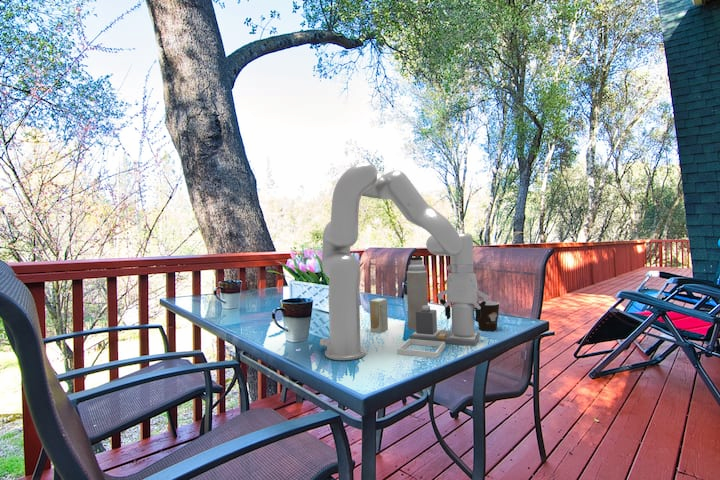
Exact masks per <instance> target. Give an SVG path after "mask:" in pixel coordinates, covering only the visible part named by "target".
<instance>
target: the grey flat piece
mask: <svg viewBox="0 0 720 480" xmlns="http://www.w3.org/2000/svg"><path fill="white" fill-rule="evenodd" d="M480 338H481V332H476V331H475V334H473V335H472V336H471V337H458V336H455V335H454V334H453V333H452V330H449V329H437V331H436V332H435V333H434V334H433V335H430V334H418V333H416V330H414V332H413V333H411V334H410V335H409V339H417V340H429V341H440V342H445V345H446V344H447V345H456V346H457V345H458V346H459V345H460V346H470V347H476V346H477V344H478V342H479V340H480Z"/></svg>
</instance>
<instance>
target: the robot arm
mask: <svg viewBox="0 0 720 480" xmlns="http://www.w3.org/2000/svg"><path fill="white" fill-rule="evenodd" d="M362 197H365V198H371V199H379V200H391V201H392V203H393V204H394V205H395V206H396V208H397V209H398V210H399V211H400V213H401V215H403V217H404V218H405V220H406V221H408V222H410V223H411V224H413V225H416V226H418V227H420V228H421V229H424V230H425V231H426V232H427V233H429V235H430V236H429V237H428V239H427V240H426V243H425V246H426V249H427V250H428V252H429V253H430V254H432V255H435V256H442V257H443V256H446V257H450V265H447V266H446V270H447V271H450V272H449V273H447V279H446V280H447V281H446V290H443V291H441V292H439V293H437V294H436V296H437V298H438V300H439V302H440V303H441V305H442V306H444V315H445V317H446V320H449V319H450V318H452V309H451V306H450V304H453V303H456V302H466V303H467V304H473V305H474V307H475V308H476V309H475V319H476V321H475V322H477V321H479V318H481V308H482V307H483V306H484V305H485V304H486V302H487V301H489V299H490V296H489V295H488V294H485V293H484V292H482V291H480V290H479V289H478V280H477V275H476V273H474V238H473V235H472V234H470V233H459V232H458V231H457V230H456V228H455V227H454V226H453V223H451V222H450V221H449V220H448V219H447V218H446V217H445V215H443V214H441V213H440V212H439V211H438V210H436V209H435V208H434V207H433V206H431V205H430V204H429V203H427V201H426V200H425V198H424V197H423V196H422V195H421V194H420V192H419V190H418V189H417V188H416V187H415V185H414V184H413V183H412V181H411V180H410V179H409V177H408V176H407V175H406V174H405V173H404V172H403V171H401V170H392V171H391V170H390V171H389V172H387V173H385V174H380V173H378V171H377V168H376V166H374V165H373V164H372V163H370V162H365V161H362V162H359V163H357V164H355V165H352V166H350V168H348V169H346V171H344V173H343V174H342V175H341V176H340V178H339V179H338V180H337V182H336V184H335V187H334V190H333V193H332V199H331V210H330V211H331V212H330V221H329V222H328V223H327V224H326V225H325V227H324V229H323V232H322V248H321V249H322V252H321V253H322V254H321V256H322V257H321V259H322V261H321V265H322V266H321V267H322V270H323V271H322V272H323V273H324V275H325V276H326V278H328V279H329V281H328V319H329V320H328V322H329V323H328V325H329V338H328V339H327V338H320V341H319V346H320V347H325V348H326V350H325V351H324V355H325V357H326V358H327V359H329V360H334V361H351V360H358V359H361V358H363V357H364V356H366V354H367V353H366V352H367V350H366V348H365V347H363V346H362V345H361V317H360V316H361V313H360V309H361V308H360V307H361V306H360V283H361V265H360V262H359V260H358V259H357V258H356V257H355V256H354V255H352V254H351V247H352V246H354V245H355V244H356V243H357V241H358V239H359V212H360V201H361V198H362ZM444 295H446V299H444V297H443V296H444ZM479 297H481V298H483V300H482V301H483V302H482V303H479V302H480V301H479Z"/></svg>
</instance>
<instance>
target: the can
mask: <svg viewBox="0 0 720 480" xmlns="http://www.w3.org/2000/svg"><path fill="white" fill-rule="evenodd" d="M450 308H451V331H452V333H453V334H454V335H455V336H458V337H471V336H472V335H473V334H475V332H476V330H475V320H474V319H475V309H474V308H475V305H474V304H467V303H466V302H456V303H451V306H450Z"/></svg>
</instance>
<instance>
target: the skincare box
mask: <svg viewBox="0 0 720 480" xmlns="http://www.w3.org/2000/svg"><path fill="white" fill-rule="evenodd" d="M369 311H370V312H369V318H370V332H372V333H376V334H380V333H381V334H382V333H383V332H385V331H387V330H389V326H388V325H389V323H388V322H389V320H388V319H389V318H388V299H387V298H381V297H380V298H379V297H377V298H374V299H371V300H369Z"/></svg>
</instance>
